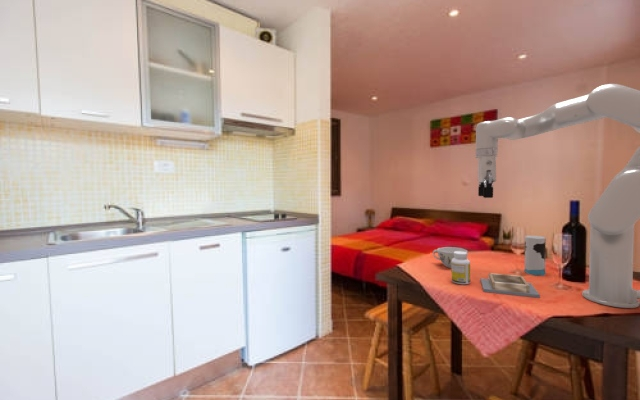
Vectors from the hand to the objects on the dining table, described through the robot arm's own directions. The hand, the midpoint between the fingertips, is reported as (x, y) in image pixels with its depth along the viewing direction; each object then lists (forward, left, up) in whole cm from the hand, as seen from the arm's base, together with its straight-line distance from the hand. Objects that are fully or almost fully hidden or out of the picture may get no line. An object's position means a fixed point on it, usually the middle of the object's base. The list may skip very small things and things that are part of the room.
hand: (485, 196), depth 114 cm
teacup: (+13, -10, -33) cm, 37 cm away
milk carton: (-19, -11, -33) cm, 39 cm away
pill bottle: (+9, +10, -33) cm, 35 cm away
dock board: (-6, +12, -32) cm, 35 cm away
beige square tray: (-6, +12, -32) cm, 35 cm away
